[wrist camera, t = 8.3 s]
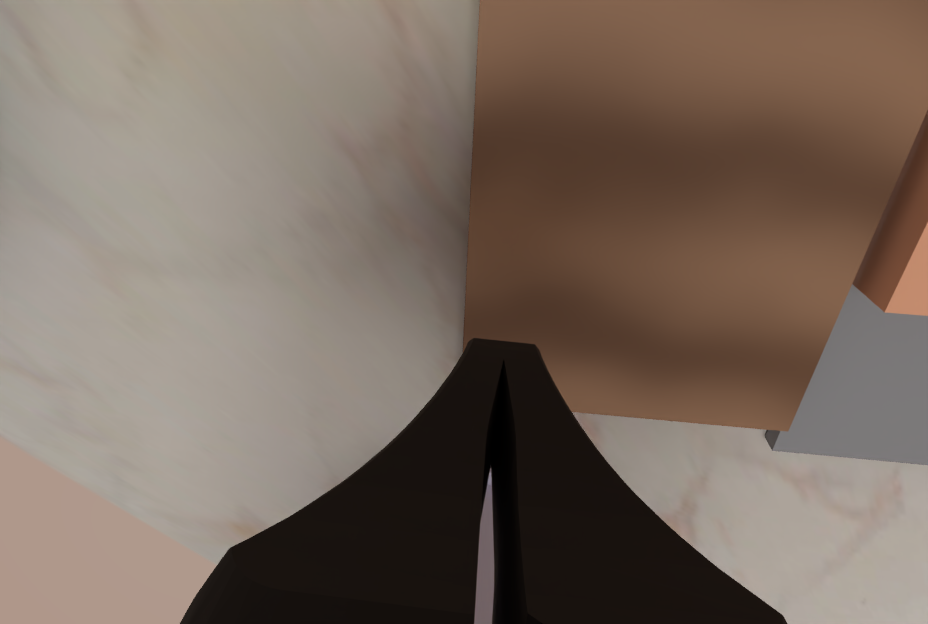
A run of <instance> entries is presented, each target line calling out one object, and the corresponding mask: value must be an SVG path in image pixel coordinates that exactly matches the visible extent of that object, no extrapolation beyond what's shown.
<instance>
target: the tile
mask: <svg viewBox="0 0 928 624" xmlns="http://www.w3.org/2000/svg"><path fill="white" fill-rule="evenodd" d="M852 284H853V285H854V286H855V287H856V288H857V289H858V290H859V291H861V292H862V293H863V294H864V295H865V296H866V297H867V298H869V299H870V300H871V301H872V302H873V303H874V304H875V305H877V306H878V307H879V308H880V309H881V310H882V311H883V312H885V313H898V314H911V315H923V316H928V110H927V113H926V115H925V117H924V120H923V122H922V124H921V126H920V129H919V131H918V133H917V136H916V138H915V140H914V143H913V145H912V147H911V149H910V152H909V154H908V156H907V159H906V161H905V163H904V166H903V168H902V170H901V173H900V175H899V177H898V179H897V182H896V184H895V186H894V189H893V191H892V193H891V196H890V198H889V200H888V203H887V205H886V207H885V209H884V212H883V214H882V216H881V219H880V221H879V223H878V226H877V228H876V230H875V233H874V235H873V237H872V239H871V242H870V244H869V246H868V249H867V251H866V253H865V256H864V258H863V260H862V263H861V265H860V267H859V269H858V272H857V274H856V276H855V279H854V281H853V283H852Z"/></svg>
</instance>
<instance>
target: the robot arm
mask: <svg viewBox="0 0 928 624" xmlns="http://www.w3.org/2000/svg"><path fill="white" fill-rule="evenodd" d="M490 467H491V468H490ZM180 624H787V622H786V620H785V618H784V617H783V615H782V614H780V613H779V612H777V611H776V610H775V609H773V608H772V607H771V606H769V605H768V604H767V603H765V602H764V601H762V600H761V599H760V598H758V597H757V596H756V595H754V594H753V593H751V592H750V591H749V590H747V589H746V588H745V587H743V586H742V585H741V584H739V583H738V582H736V581H735V580H734V579H732V578H731V577H730V576H728V575H727V574H726V573H724V572H723V571H721V570H720V569H719V568H718V567H716V566H715V565H714V564H713V563H711V562H710V561H709V560H708V559H706V558H705V557H704V556H703V555H702V554H701V553H699V552H698V551H697V550H696V549H695V548H693V547H692V546H691V545H690V544H689V543H687V542H686V541H685V540H684V539H683V538H681V537H680V536H679V535H678V534H677V533H676V532H675V531H674V530H672V529H671V528H670V527H669V526H668V525H667V524H666V523H665V522H664V521H663V520H662V519H661V518H660V517H659V516H657V515H656V514H655V513H654V512H653V511H652V510H651V509H650V508H649V507H648V506H647V505H646V504H645V503H644V502H643V501H642V500H641V499H640V498H639V497H638V496H637V495H636V494H635V493H634V492H633V491H632V490H631V489H630V488H629V487H628V485H627V484H626V483H625V482H624V481H623V480H622V479H621V478H620V477H619V475H618V474H617V473H616V472H615V471H614V469H613V468H612V467H611V466H610V465H609V464H608V462H607V461H606V460H605V459H604V457H603V456H602V455H601V453H600V452H599V451H598V450H597V448H596V447H595V446H594V444H593V443H592V441H591V440H590V439H589V437H588V436H587V434H586V433H585V432H584V430H583V429H582V427H581V426H580V424H579V423H578V421H577V420H576V418H575V417H574V415H573V414H572V412H571V410H570V409H569V407H568V405H567V404H566V402H565V400H564V399H563V397H562V395H561V394H560V392H559V390H558V388H557V387H556V385H555V383H554V381H553V379H552V377H551V375H550V373H549V371H548V369H547V367H546V365H545V363H544V360H543V358H542V356H541V353H540V350H539V349H538V348H537V346H536V345H535V344H529V343H519V342H510V341H500V340H490V339H481V338H473V339H471V340H470V341H469V342H468V343H467V346H466V348H465V350H464V352H463V354H462V356H461V357H460V359H459V361H458V363H457V364H456V366H455V367H454V369H453V370H452V372H451V373H450V375H449V376H448V377H447V379H446V380H445V381H444V383H443V384H442V386H441V387H440V388H439V390H438V391H437V392H436V394H435V395H434V396H433V397H432V399H431V400H430V401H429V402H428V403H427V404H426V405H425V407H424V408H423V409H422V410H421V411H420V412H419V413H418V415H417V416H416V417H415V418H414V419H413V420H412V421H411V422H410V423H409V424H408V426H407V427H406V428H405V429H404V430H403V431H402V432H401V433H400V434H399V435H398V436H397V437H396V438H394V439H393V440H392V441H391V442H390V443H389V444H388V445H387V446H386V447H385V448H384V449H383V450H381V451H380V452H379V453H378V454H377V455H375V456H374V457H373V458H372V459H371V460H369V461H368V462H367V463H366V464H365V465H363V466H362V467H361V468H360V469H359V470H357V471H356V472H355V473H353V474H352V475H351V476H349V477H348V478H347V479H345V480H344V481H343V482H341V483H340V484H339V485H337V486H336V487H334V488H333V489H331V490H330V491H328V492H327V493H325V494H324V495H322V496H321V497H319V498H318V499H316V500H315V501H313V502H312V503H310V504H309V505H307V506H306V507H304V508H303V509H301V510H299V511H298V512H296V513H295V514H293V515H291V516H290V517H288V518H286V519H284V520H283V521H281V522H279V523H277V524H275V525H273V526H271V527H269V528H268V529H266V530H264V531H262V532H260V533H258V534H256V535H254V536H253V537H251V538H249V539H247V540H245V541H243V542H241V543H239V544H237V545H235V546H233V547H231V548H230V549H229V550H228V551H227V552H226V554H225V555H224V557H223V558H222V559H221V561H220V562H219V564H218V565H217V566H216V568H215V569H214V571H213V572H212V573H211V575H210V576H209V578H208V579H207V581H206V582H205V583H204V585H203V586H202V588H201V589H200V590H199V592H198V593H197V595H196V597H195V598H194V599H193V601H192V603H191V605H190V606H189V608H188V610H187V612H186V613H185V615H184V617H183V619H182V621H181V623H180Z"/></svg>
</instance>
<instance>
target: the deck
mask: <svg viewBox="0 0 928 624" xmlns="http://www.w3.org/2000/svg"><path fill="white" fill-rule="evenodd" d="M927 110H928V0H480V7H479V28H478V49H477V69H476V90H475V110H474V131H473V152H472V172H471V193H470V214H469V234H468V255H467V275H466V296H465V317H464V337H463V352H464V350H465V348H466V346H467V343H468V342H469V341H470V340H471V339H473V338H481V339H490V340H500V341H510V342H519V343H529V344H535V345H536V346H537V348H538V349H539V350H540V353H541V356H542V358H543V360H544V363H545V365H546V367H547V369H548V371H549V373H550V375H551V377H552V379H553V381H554V383H555V385H556V387H557V388H558V390H559V392H560V394H561V395H562V397H563V399H564V400H565V402H566V404H567V405H568V407H569V409H570V410H571V412H580V413H591V414H602V415H613V416H624V417H635V418H646V419H656V420H667V421H678V422H689V423H700V424H711V425H722V426H733V427H744V428H755V429H766V430H776V431H787V432H788V431H789V429H790V426H791V424H792V422H793V419H794V417H795V415H796V412H797V410H798V408H799V406H800V403H801V401H802V399H803V396H804V394H805V392H806V389H807V387H808V385H809V383H810V380H811V378H812V376H813V373H814V371H815V369H816V366H817V364H818V362H819V359H820V357H821V355H822V353H823V350H824V348H825V346H826V343H827V341H828V339H829V336H830V334H831V332H832V329H833V327H834V325H835V323H836V320H837V318H838V316H839V313H840V311H841V309H842V306H843V304H844V302H845V299H846V297H847V295H848V293H849V290H850V288H851V286H852V283H853V281H854V279H855V276H856V274H857V272H858V269H859V267H860V265H861V263H862V260H863V258H864V256H865V253H866V251H867V249H868V246H869V244H870V242H871V239H872V237H873V235H874V233H875V230H876V228H877V226H878V223H879V221H880V219H881V216H882V214H883V212H884V209H885V207H886V205H887V203H888V200H889V198H890V196H891V193H892V191H893V189H894V186H895V184H896V182H897V179H898V177H899V175H900V173H901V170H902V168H903V166H904V163H905V161H906V159H907V156H908V154H909V152H910V149H911V147H912V145H913V143H914V140H915V138H916V136H917V133H918V131H919V129H920V126H921V124H922V122H923V120H924V117H925V115H926V113H927Z"/></svg>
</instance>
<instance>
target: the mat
mask: <svg viewBox="0 0 928 624" xmlns="http://www.w3.org/2000/svg"><path fill="white" fill-rule="evenodd" d="M765 438H766V440H767V442H768V444H769V445H770V447H771V449H772V451H783V452H794V453H804V454H815V455H826V456H836V457H847V458H858V459H868V460H879V461H890V462H900V463H911V464H921V465H928V316H923V315H911V314H898V313H885V312H883V311H882V310H881V309H880V308H879V307H878V306H877V305H875V304H874V303H873V302H872V301H871V300H870V299H869V298H867V297H866V296H865V295H864V294H863V293H862V292H861V291H859V290H858V289H857V288H856V287H855V286H854V285H853V284H852V286H851V288H850V290H849V293H848V295H847V297H846V299H845V302H844V304H843V306H842V309H841V311H840V313H839V316H838V318H837V320H836V323H835V325H834V327H833V329H832V332H831V334H830V336H829V339H828V341H827V343H826V346H825V348H824V350H823V353H822V355H821V357H820V359H819V362H818V364H817V366H816V369H815V371H814V373H813V376H812V378H811V380H810V383H809V385H808V387H807V389H806V392H805V394H804V396H803V399H802V401H801V403H800V406H799V408H798V410H797V412H796V415H795V417H794V419H793V422H792V424H791V426H790V429H789V431H788V432H787V431H776V430H767V433H766V435H765Z"/></svg>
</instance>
